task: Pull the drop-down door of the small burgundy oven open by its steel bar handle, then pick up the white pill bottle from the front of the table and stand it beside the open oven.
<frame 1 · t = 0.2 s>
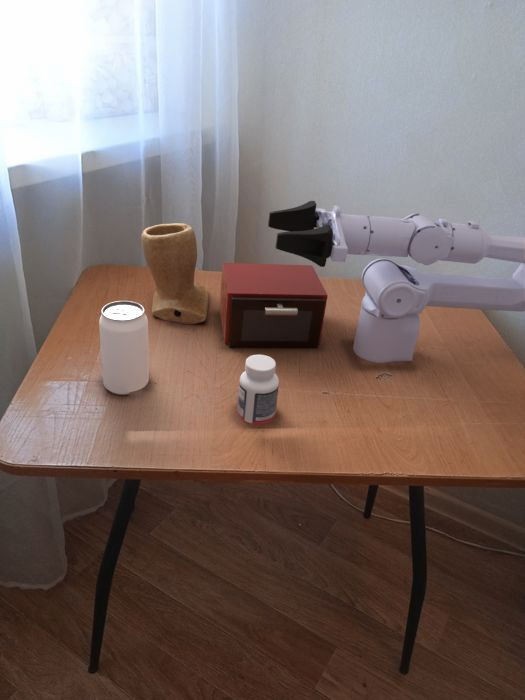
hand: (272, 229, 80), 21 cm above the table, tool horizontal, fingers open, 7 cm apart
pill bottle: (255, 417, 78), on the table
oven: (267, 330, 98), on the table
can: (126, 384, 81), on the table
oven door: (277, 327, 89), point 5 cm above the table, hinge at 0.0°
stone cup: (175, 308, 103), on the table
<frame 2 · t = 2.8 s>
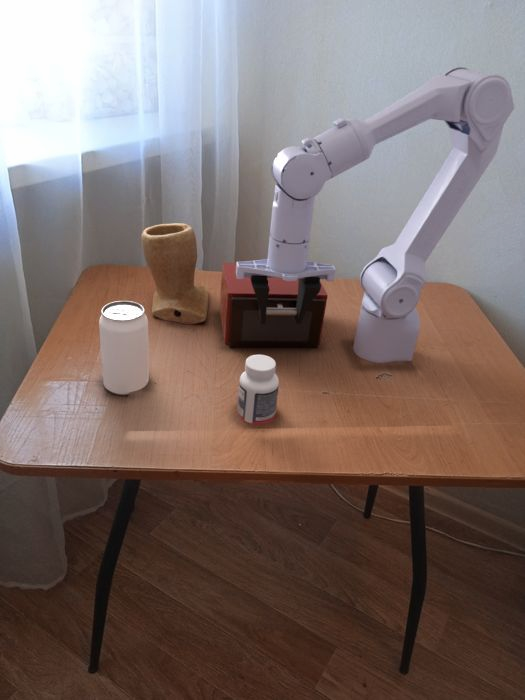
hand: (279, 320, 87), 7 cm above the table, tool pointing down, fingers closed on oven door, 5 cm apart
oven door: (277, 327, 89), point 5 cm above the table, hinge at 0.0°, touching gripper
everything else where it was.
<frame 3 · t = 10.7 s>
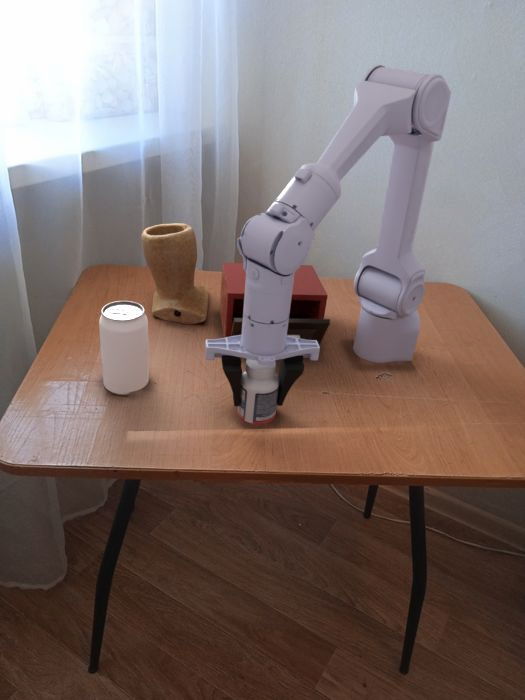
hand: (257, 401, 76), 3 cm above the table, tool pointing down, fingers closed on pill bottle, 5 cm apart
pill bottle: (256, 417, 78), on the table, touching gripper
oven door: (278, 342, 88), point 4 cm above the table, hinge at 30.8°
everything else where it was.
when the fingers open (2 cm above the table, at t = 15.6 s): pill bottle stays where it is, on the table.
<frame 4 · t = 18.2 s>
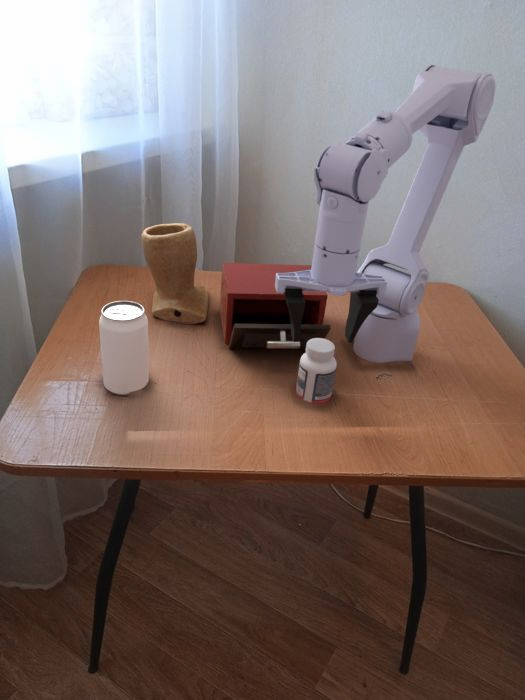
hand: (322, 338, 77), 10 cm above the table, tool pointing down, fingers open, 7 cm apart
pill bottle: (312, 397, 83), on the table
oven door: (278, 345, 88), point 3 cm above the table, hinge at 37.1°
everything else where it was.
at the end: oven door at +37° (first picture: +0°); pill bottle inside the target area on the table beside the oven (0.3 cm from its centre), on the table; pill bottle tilted 0° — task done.
